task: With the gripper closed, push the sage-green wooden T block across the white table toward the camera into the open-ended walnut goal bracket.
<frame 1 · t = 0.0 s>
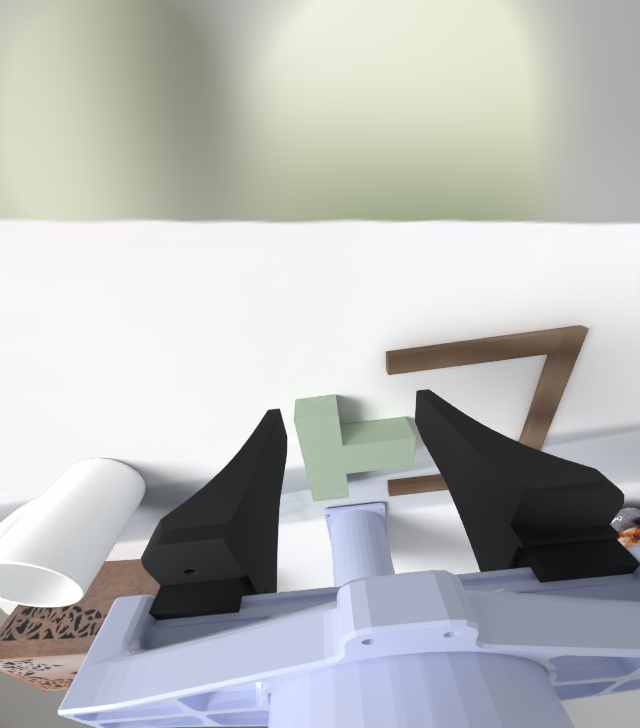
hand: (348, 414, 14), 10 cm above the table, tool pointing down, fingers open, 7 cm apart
goal bracket: (456, 424, 28), on the table
tissue box cover: (152, 578, 43), on the table
cup: (96, 479, 31), on the table
t block: (355, 436, 28), on the table
food plate: (594, 541, 42), on the table
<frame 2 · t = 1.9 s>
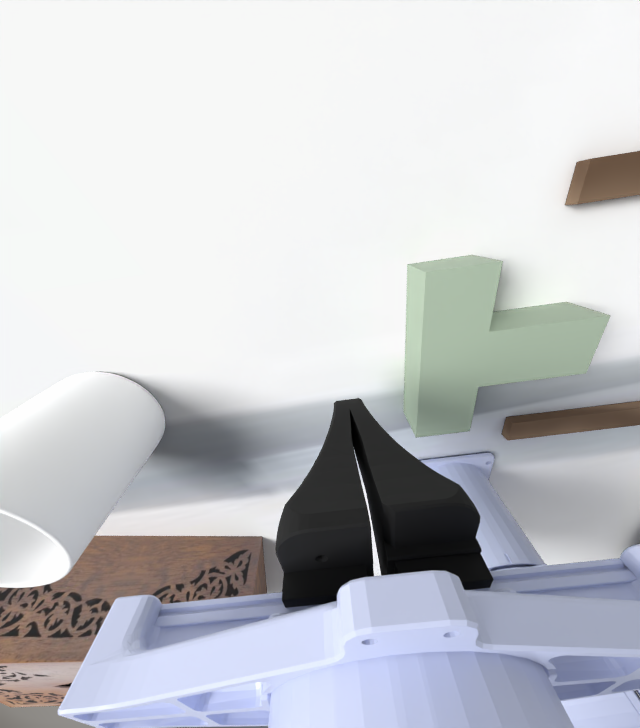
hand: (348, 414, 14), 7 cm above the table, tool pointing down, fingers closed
goal bracket: (636, 318, 18), on the table
tissue box cover: (166, 562, 34), on the table
cup: (95, 411, 21), on the table
t block: (480, 339, 19), on the table
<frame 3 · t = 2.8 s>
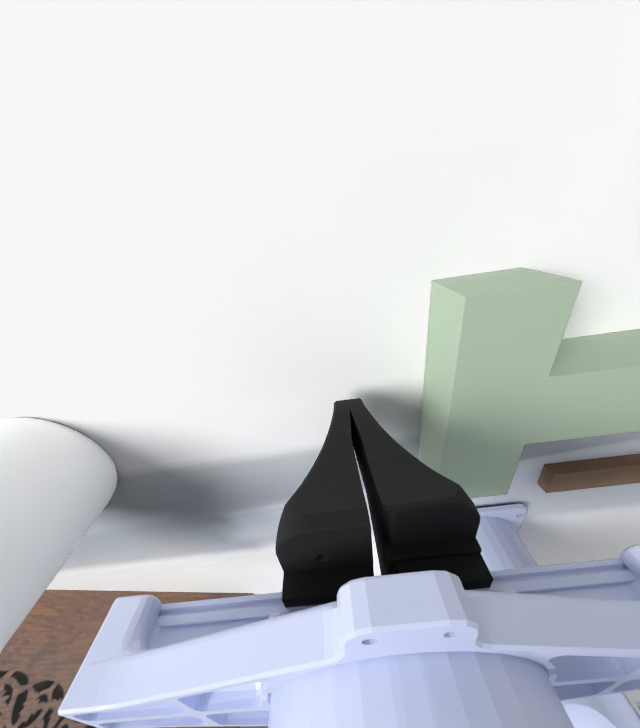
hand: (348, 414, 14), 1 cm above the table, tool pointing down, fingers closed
tissue box cover: (138, 614, 29), on the table
cup: (27, 461, 17), on the table
t block: (522, 375, 14), on the table
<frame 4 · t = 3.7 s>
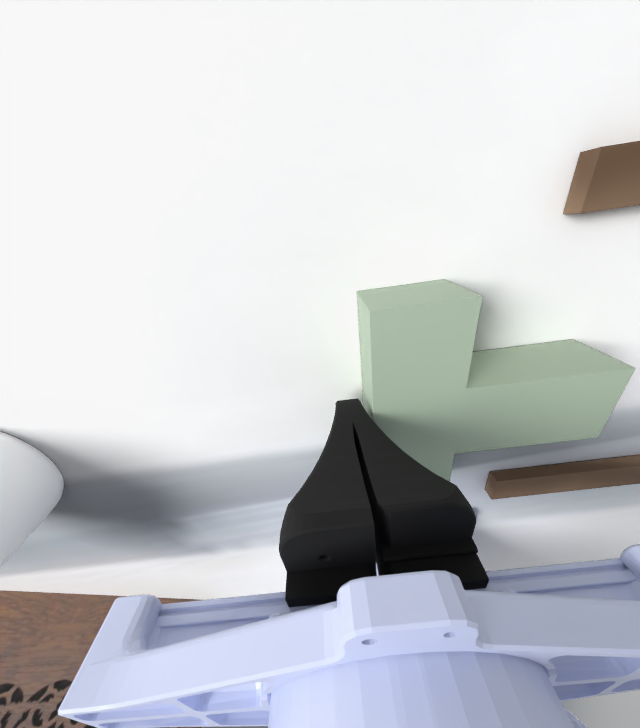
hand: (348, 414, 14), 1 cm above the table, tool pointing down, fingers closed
tissue box cover: (105, 617, 29), on the table
t block: (459, 384, 15), on the table, touching gripper
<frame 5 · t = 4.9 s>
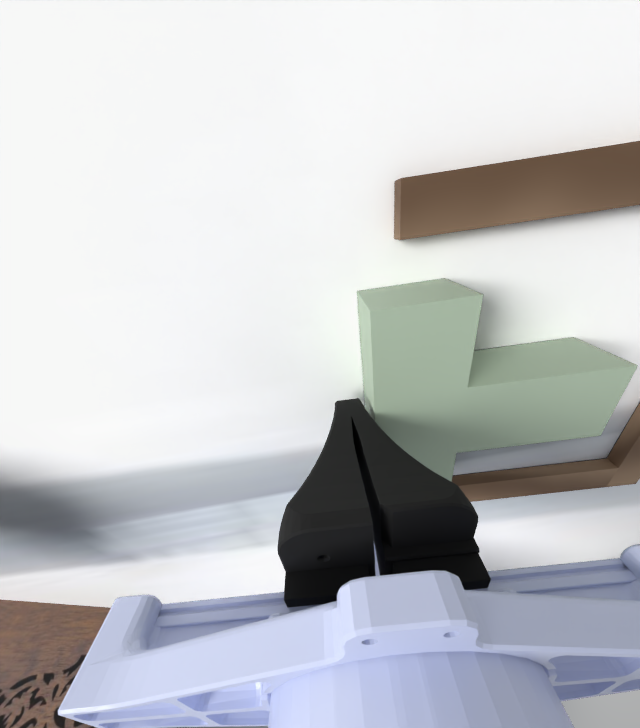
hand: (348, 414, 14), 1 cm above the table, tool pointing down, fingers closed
goal bracket: (526, 376, 14), on the table
tissue box cover: (47, 622, 30), on the table
t block: (461, 383, 15), on the table, touching gripper
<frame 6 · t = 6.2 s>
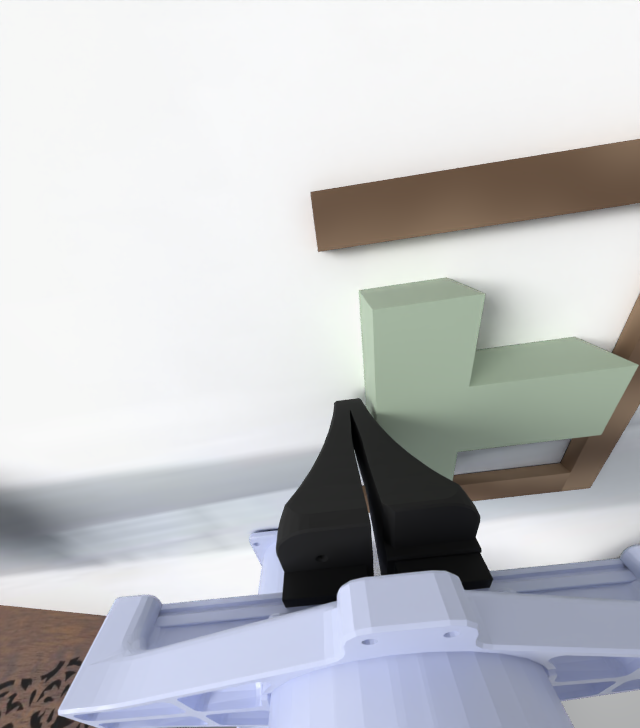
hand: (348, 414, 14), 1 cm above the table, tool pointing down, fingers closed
goal bracket: (469, 382, 14), on the table
tissue box cover: (23, 625, 30), on the table
t block: (462, 382, 15), on the table, touching gripper
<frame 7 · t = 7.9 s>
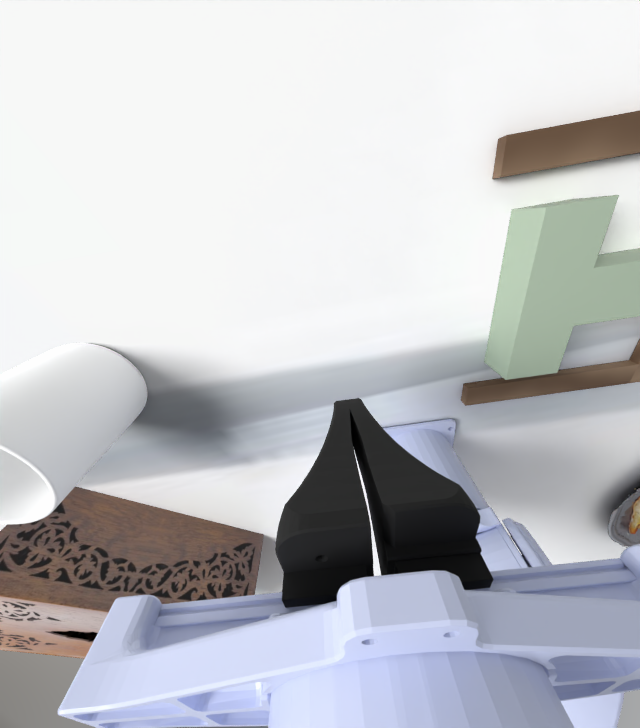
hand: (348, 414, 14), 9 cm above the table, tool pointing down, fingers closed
goal bracket: (572, 285, 20), on the table
tissue box cover: (157, 535, 36), on the table
cup: (83, 382, 23), on the table
t block: (567, 285, 20), on the table
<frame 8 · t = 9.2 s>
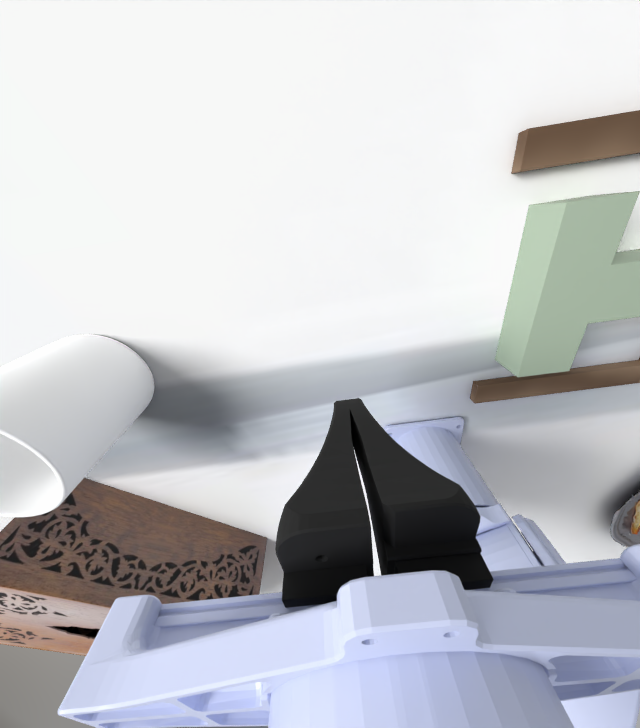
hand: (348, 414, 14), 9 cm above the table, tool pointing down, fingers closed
goal bracket: (586, 283, 20), on the table
tissue box cover: (159, 531, 35), on the table
cup: (88, 374, 23), on the table
t block: (581, 283, 20), on the table
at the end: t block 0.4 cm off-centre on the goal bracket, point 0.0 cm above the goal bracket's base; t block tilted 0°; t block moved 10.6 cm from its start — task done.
